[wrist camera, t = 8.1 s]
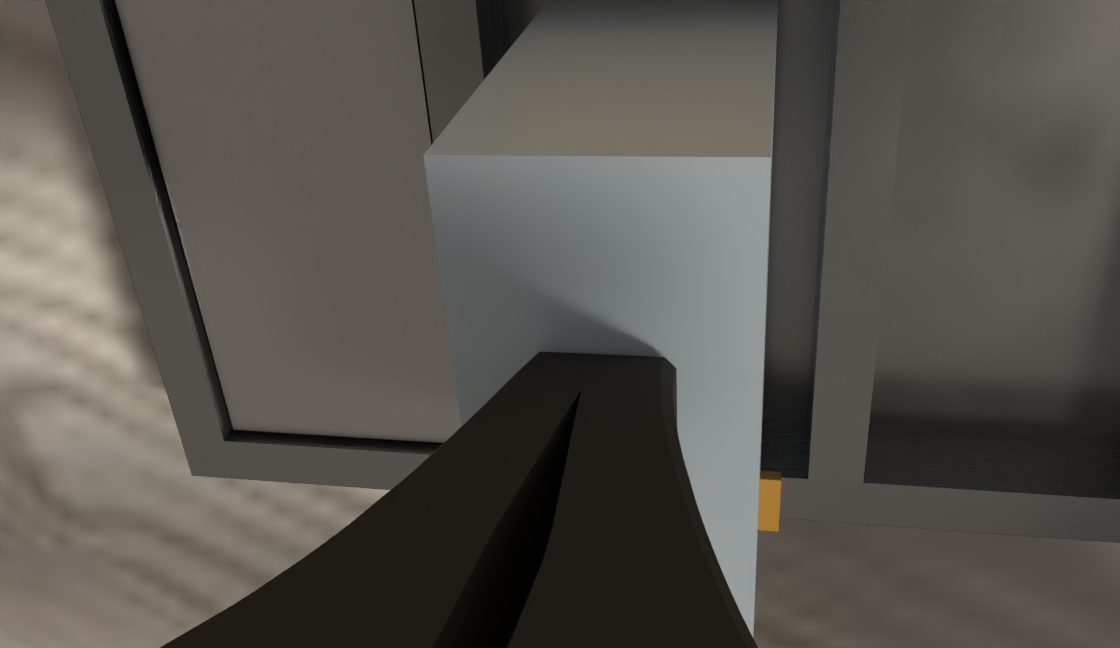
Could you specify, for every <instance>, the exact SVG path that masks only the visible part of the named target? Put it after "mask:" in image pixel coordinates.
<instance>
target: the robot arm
mask: <svg viewBox="0 0 1120 648" xmlns="http://www.w3.org/2000/svg"><path fill="white" fill-rule="evenodd" d="M160 648H758V647H757V645H756V643H755V641H754V639H753V637H752V635H751V633H750V631H749V629H748V627H747V625H746V623H745V621H744V619H743V617H742V615H741V613H740V610H739V608H738V606H737V604H736V602H735V600H734V597H733V595H732V593H731V591H730V588H729V586H728V584H727V581H726V579H725V577H724V574H723V572H722V570H721V568H720V565H719V562H718V560H717V557H716V555H715V552H714V550H713V547H712V545H711V542H710V539H709V537H708V534H707V532H706V529H705V526H704V523H703V521H702V518H701V515H700V512H699V509H698V506H697V503H696V500H695V496H694V493H693V490H692V486H691V483H690V479H689V476H688V472H687V469H686V466H685V462H684V459H683V454H682V450H681V446H680V442H679V437H678V431H677V373H676V368H675V367H674V366H673V365H672V364H671V363H670V362H669V361H668V360H667V359H666V358H665V357H652V356H629V355H607V354H584V353H561V352H539V353H537V354H536V355H535V356H534V357H533V358H532V359H531V360H530V361H529V362H528V363H526V364H525V365H524V366H523V367H522V368H521V369H520V370H519V371H518V372H517V373H516V374H515V375H514V376H513V377H512V378H511V379H510V380H509V381H508V382H507V383H506V384H505V385H504V386H503V387H502V388H501V389H500V390H499V391H497V392H496V393H495V394H494V395H493V396H492V397H491V398H490V399H489V400H488V401H487V402H486V403H485V404H484V405H483V406H482V407H481V408H480V409H479V410H478V411H477V412H476V413H475V414H474V415H473V416H472V417H471V418H470V419H469V420H468V421H467V422H466V423H465V424H464V425H463V426H462V427H460V428H459V429H458V430H457V431H456V432H455V433H454V434H453V435H452V436H451V437H450V438H449V439H447V440H446V441H445V442H444V443H443V444H442V445H441V446H440V447H439V448H438V449H437V450H436V451H434V452H433V453H432V454H431V455H430V456H429V457H428V458H427V459H426V460H425V461H424V462H423V463H421V464H420V465H419V466H418V467H417V468H416V469H415V470H414V471H413V472H411V473H410V474H409V475H408V476H407V477H406V478H405V479H403V480H402V481H401V482H400V483H399V484H397V485H396V486H395V487H394V488H393V489H391V490H390V491H389V492H388V493H387V494H385V495H384V496H383V497H382V498H381V499H379V500H378V501H377V502H376V503H375V504H373V505H372V506H371V507H370V508H368V509H367V510H366V511H365V512H364V513H362V514H361V515H360V516H359V517H358V518H356V519H355V520H354V521H353V522H352V523H350V524H349V525H348V526H346V527H345V528H344V529H343V530H341V531H340V532H339V533H337V534H336V535H335V536H333V537H332V538H331V539H329V540H328V541H327V542H325V543H324V544H322V545H321V546H320V547H318V548H317V549H316V550H314V551H313V552H311V553H310V554H309V555H307V556H306V557H305V558H303V559H302V560H300V561H299V562H297V563H296V564H294V565H293V566H291V567H290V568H288V569H287V570H285V571H284V572H282V573H281V574H279V575H278V576H277V577H275V578H274V579H272V580H271V581H269V582H268V583H266V584H265V585H263V586H262V587H260V588H259V589H257V590H256V591H254V592H253V593H251V594H250V595H248V596H247V597H245V598H243V599H242V600H240V601H239V602H237V603H236V604H234V605H232V606H231V607H229V608H227V609H225V610H224V611H222V612H220V613H219V614H217V615H215V616H213V617H212V618H210V619H208V620H207V621H205V622H203V623H201V624H200V625H198V626H196V627H195V628H193V629H191V630H189V631H188V632H186V633H184V634H183V635H181V636H179V637H177V638H176V639H174V640H172V641H171V642H169V643H167V644H165V645H164V646H162V647H160Z"/></svg>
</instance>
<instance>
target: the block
mask: <svg viewBox="0 0 1120 648" xmlns="http://www.w3.org/2000/svg"><path fill="white" fill-rule="evenodd" d="M777 17H778V0H548V1H547V3H546V4H545V5H544V6H543V8H542V9H541V10H540V11H539V13H538V14H537V15H536V16H535V18H534V19H533V20H532V21H531V22H530V24H529V25H528V26H527V27H526V29H525V30H524V31H523V32H522V34H521V35H520V36H519V37H518V39H517V40H516V41H515V42H514V44H513V45H512V46H511V47H510V48H509V50H508V51H507V52H506V53H505V55H504V56H503V57H502V58H501V60H500V61H499V62H498V63H497V65H496V66H495V67H494V68H493V70H492V71H491V72H490V73H489V74H488V76H487V77H486V78H485V79H484V81H483V82H482V83H481V84H480V86H479V87H478V88H477V89H476V91H475V92H474V93H473V94H472V96H471V97H470V98H469V99H468V100H467V102H466V103H465V104H464V105H463V107H462V108H461V109H460V110H459V112H458V113H457V114H456V115H455V117H454V118H453V119H452V120H451V121H450V123H449V124H448V125H447V126H446V128H445V129H444V130H443V131H442V133H441V134H440V135H439V136H438V138H437V139H436V140H435V141H434V143H433V144H432V145H431V146H430V147H429V149H428V150H427V151H426V152H425V154H424V155H423V157H424V164H425V171H426V178H427V185H428V192H429V199H430V206H431V214H432V221H433V228H434V235H435V242H436V249H437V256H438V263H439V270H440V278H441V285H442V292H443V299H444V306H445V313H446V320H447V327H448V334H449V341H450V349H451V356H452V363H453V370H454V377H455V384H456V391H457V398H458V405H459V413H460V420H461V427H462V426H463V425H464V424H465V423H466V422H467V421H468V420H469V419H470V418H471V417H472V416H473V415H474V414H475V413H476V412H477V411H478V410H479V409H480V408H481V407H482V406H483V405H484V404H485V403H486V402H487V401H488V400H489V399H490V398H491V397H492V396H493V395H494V394H495V393H496V392H497V391H499V390H500V389H501V388H502V387H503V386H504V385H505V384H506V383H507V382H508V381H509V380H510V379H511V378H512V377H513V376H514V375H515V374H516V373H517V372H518V371H519V370H520V369H521V368H522V367H523V366H524V365H525V364H526V363H528V362H529V361H530V360H531V359H532V358H533V357H534V356H535V355H536V354H537V353H539V352H561V353H584V354H607V355H629V356H652V357H665V358H666V359H667V360H668V361H669V362H670V363H671V364H672V365H673V366H674V367H675V368H676V373H677V431H678V437H679V442H680V446H681V450H682V454H683V459H684V462H685V466H686V469H687V472H688V476H689V479H690V483H691V486H692V490H693V493H694V496H695V500H696V503H697V506H698V509H699V512H700V515H701V518H702V521H703V523H704V526H705V529H706V532H707V534H708V537H709V539H710V542H711V545H712V547H713V550H714V552H715V555H716V557H717V560H718V562H719V565H720V568H721V570H722V572H723V574H724V577H725V579H726V581H727V584H728V586H729V588H730V591H731V593H732V595H733V597H734V600H735V602H736V604H737V606H738V608H739V610H740V613H741V615H742V617H743V619H744V621H745V623H746V625H747V627H748V629H749V631H750V633H751V635H752V637H753V636H754V612H755V587H756V562H757V538H758V513H759V489H760V464H761V439H762V415H763V390H764V363H765V337H766V310H767V283H768V257H769V230H770V203H771V177H772V150H773V123H774V97H775V70H776V43H777Z"/></svg>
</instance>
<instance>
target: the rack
mask: <svg viewBox="0 0 1120 648" xmlns="http://www.w3.org/2000/svg"><path fill="white" fill-rule="evenodd" d="M547 1H548V0H46V4H47V7H48V10H49V13H50V17H51V20H52V23H53V26H54V29H55V33H56V36H57V39H58V42H59V46H60V49H61V52H62V55H63V59H64V62H65V65H66V68H67V72H68V75H69V78H70V81H71V85H72V88H73V91H74V94H75V97H76V101H77V104H78V107H79V110H80V114H81V117H82V120H83V123H84V127H85V130H86V133H87V136H88V140H89V143H90V146H91V149H92V152H93V156H94V159H95V162H96V165H97V169H98V172H99V175H100V178H101V182H102V185H103V188H104V191H105V195H106V198H107V201H108V204H109V208H110V211H111V214H112V217H113V220H114V224H115V227H116V230H117V233H118V237H119V240H120V243H121V246H122V250H123V253H124V256H125V259H126V263H127V266H128V269H129V272H130V275H131V279H132V282H133V285H134V288H135V292H136V295H137V298H138V301H139V305H140V308H141V311H142V314H143V318H144V321H145V324H146V327H147V331H148V334H149V337H150V340H151V343H152V347H153V350H154V353H155V356H156V360H157V363H158V366H159V369H160V373H161V376H162V379H163V382H164V386H165V389H166V392H167V395H168V398H169V402H170V405H171V408H172V411H173V415H174V418H175V421H176V424H177V428H178V431H179V434H180V437H181V441H182V444H183V447H184V450H185V454H186V457H187V460H188V463H189V466H190V470H191V473H192V475H193V476H207V477H221V478H235V479H248V480H262V481H276V482H290V483H304V484H317V485H331V486H345V487H359V488H372V489H386V490H391V489H393V488H394V487H395V486H396V485H397V484H399V483H400V482H401V481H402V480H403V479H405V478H406V477H407V476H408V475H409V474H410V473H411V472H413V471H414V470H415V469H416V468H417V467H418V466H419V465H420V464H421V463H423V462H424V461H425V460H426V459H427V458H428V457H429V456H430V455H431V454H432V453H433V452H434V451H436V450H437V449H438V448H439V447H440V446H441V445H442V444H443V443H444V442H445V441H446V440H447V439H449V438H450V437H451V436H452V435H453V434H454V433H455V432H456V431H457V430H458V429H459V428H460V427H461V420H460V413H459V405H458V398H457V391H456V384H455V377H454V370H453V363H452V356H451V349H450V341H449V334H448V327H447V320H446V313H445V306H444V299H443V292H442V285H441V278H440V270H439V263H438V256H437V249H436V242H435V235H434V228H433V221H432V214H431V206H430V199H429V192H428V185H427V178H426V171H425V164H424V157H423V155H424V154H425V152H426V151H427V150H428V149H429V147H430V146H431V145H432V144H433V143H434V141H435V140H436V139H437V138H438V136H439V135H440V134H441V133H442V131H443V130H444V129H445V128H446V126H447V125H448V124H449V123H450V121H451V120H452V119H453V118H454V117H455V115H456V114H457V113H458V112H459V110H460V109H461V108H462V107H463V105H464V104H465V103H466V102H467V100H468V99H469V98H470V97H471V96H472V94H473V93H474V92H475V91H476V89H477V88H478V87H479V86H480V84H481V83H482V82H483V81H484V79H485V78H486V77H487V76H488V74H489V73H490V72H491V71H492V70H493V68H494V67H495V66H496V65H497V63H498V62H499V61H500V60H501V58H502V57H503V56H504V55H505V53H506V52H507V51H508V50H509V48H510V47H511V46H512V45H513V44H514V42H515V41H516V40H517V39H518V37H519V36H520V35H521V34H522V32H523V31H524V30H525V29H526V27H527V26H528V25H529V24H530V22H531V21H532V20H533V19H534V18H535V16H536V15H537V14H538V13H539V11H540V10H541V9H542V8H543V6H544V5H545V4H546V3H547ZM779 518H785V519H799V520H813V521H826V522H840V523H854V524H868V525H882V526H895V527H909V528H923V529H937V530H950V531H964V532H978V533H992V534H1005V535H1019V536H1033V537H1047V538H1060V539H1074V540H1088V541H1102V542H1115V543H1120V0H778V17H777V43H776V70H775V97H774V123H773V150H772V177H771V203H770V230H769V257H768V283H767V310H766V337H765V363H764V390H763V415H762V439H761V464H760V489H759V513H758V530H764V531H777V532H779Z"/></svg>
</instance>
